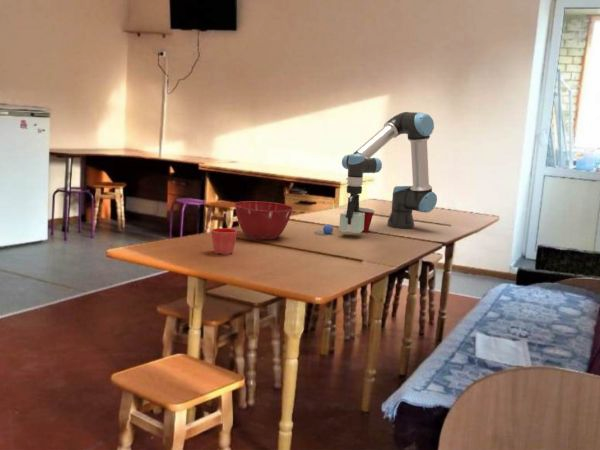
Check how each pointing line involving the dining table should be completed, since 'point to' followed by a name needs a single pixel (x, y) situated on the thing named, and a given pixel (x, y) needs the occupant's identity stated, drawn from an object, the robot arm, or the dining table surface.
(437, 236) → the dining table surface
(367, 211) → the plastic cup
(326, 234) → the grey spot
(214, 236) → the flower pot
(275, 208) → the mixing bowl
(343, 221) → the pale green brick
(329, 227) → the ball
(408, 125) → the robot arm
